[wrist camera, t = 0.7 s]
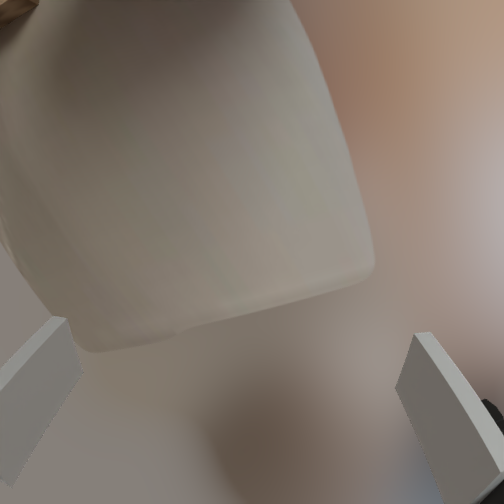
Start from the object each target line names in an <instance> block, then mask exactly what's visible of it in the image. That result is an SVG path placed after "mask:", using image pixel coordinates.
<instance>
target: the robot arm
mask: <svg viewBox="0 0 504 504" xmlns="http://www.w3.org/2000/svg"><path fill="white" fill-rule="evenodd" d="M82 374H83V369H82V366H81V363H80V360H79V357H78V354H77V351H76V348H75V345H74V341H73V338H72V334H71V331H70V327H69V323H68V319H67V318H63V317H57V316H52V317H51V318H50V319H49V320H48V321H47V322H46V323H45V324H44V325H43V326H42V327H41V328H40V329H39V330H38V331H37V332H36V333H35V334H34V335H33V336H32V337H31V338H30V339H28V340H27V342H26V343H25V344H24V345H23V346H22V347H21V348H20V349H19V350H18V351H17V352H16V353H15V354H14V355H13V356H12V357H11V358H10V359H9V360H8V361H7V362H6V363H5V364H4V365H3V366H2V367H1V369H0V481H1V482H2V483H4V484H6V485H7V486H9V487H11V488H12V487H13V485H14V483H15V482H16V480H17V478H18V476H19V475H20V473H21V471H22V469H23V468H24V466H25V464H26V462H27V461H28V459H29V457H30V455H31V454H32V452H33V450H34V449H35V447H36V446H37V444H38V442H39V441H40V439H41V437H42V436H43V434H44V432H45V430H46V429H47V428H48V426H49V424H50V423H51V421H52V420H53V418H54V417H55V415H56V413H57V412H58V410H59V409H60V407H61V406H62V404H63V402H64V401H65V400H66V398H67V397H68V395H69V393H70V392H71V390H72V389H73V387H74V386H75V384H76V383H77V382H78V380H79V379H80V377H81V376H82ZM395 389H396V391H397V393H398V395H399V397H400V400H401V402H402V404H403V406H404V408H405V411H406V413H407V415H408V417H409V419H410V421H411V424H412V426H413V428H414V430H415V433H416V435H417V437H418V440H419V442H420V445H421V447H422V449H423V451H424V454H425V456H426V459H427V461H428V464H429V466H430V469H431V471H432V473H433V476H434V478H435V481H436V484H437V486H438V489H439V492H440V494H441V497H442V499H443V502H444V504H504V419H503V416H502V414H501V413H500V412H499V410H498V409H497V407H496V406H494V405H493V404H492V403H491V402H489V401H488V400H487V399H484V400H480V399H479V397H478V396H477V394H476V393H475V392H474V390H473V389H472V387H471V386H470V384H469V383H468V381H467V380H466V379H465V377H464V376H463V375H462V373H461V372H460V370H459V369H458V368H457V366H456V365H455V364H454V362H453V361H452V360H451V358H450V357H449V356H448V354H447V353H446V352H445V350H444V349H443V348H442V346H441V345H440V344H439V343H438V341H437V340H436V339H435V337H434V336H433V335H432V333H431V332H426V333H414V335H413V338H412V342H411V345H410V348H409V351H408V354H407V357H406V360H405V363H404V365H403V368H402V371H401V374H400V376H399V379H398V383H397V384H396V387H395Z"/></svg>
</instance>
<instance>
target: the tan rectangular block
mask: <svg viewBox="0 0 504 504" xmlns="http://www.w3.org/2000/svg"><path fill="white" fill-rule="evenodd" d="M38 4H39V0H0V29H1V28H3V27H4V26H6V25H7V24H8V23H10V22H11V21H13V20H14V19H16V18H18V17H19V16H21V15H22V14H24V13H25V12H27V11H29V10H30V9H32V8H34V7H35V6H37V5H38Z"/></svg>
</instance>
